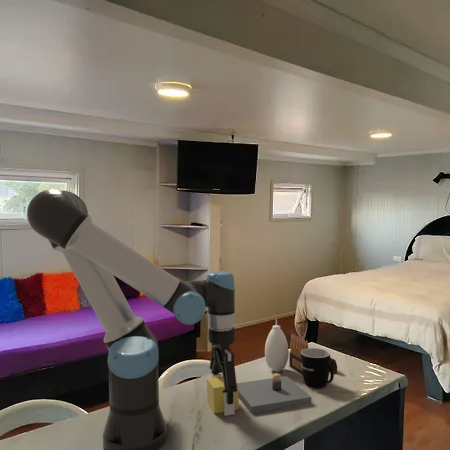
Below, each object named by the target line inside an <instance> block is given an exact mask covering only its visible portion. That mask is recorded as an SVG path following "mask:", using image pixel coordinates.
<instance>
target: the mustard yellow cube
mask: <svg viewBox="0 0 450 450" xmlns="http://www.w3.org/2000/svg"><path fill="white" fill-rule="evenodd" d="M223 390H225V387H224V381H223V375H222V377H214V378H212V377H207V379H206V394H207V395H206V399H207V400H206V403H207V404H208V406H209V408H210V410H211V411H212V413H213V414H220V413H221V414H222V413H224V393H223ZM234 410H235V411H238V410H239V397H238V384H237V392H234Z"/></svg>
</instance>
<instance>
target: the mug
mask: <svg viewBox="0 0 450 450" xmlns="http://www.w3.org/2000/svg"><path fill="white" fill-rule="evenodd" d="M330 357H331V353H330V351H329V350H327V349H323V348H319V347H308V349H304V350H302V351H301V367H302V375H301V376H302V380H303V382H304V385H305V386H306V387H308V388H310V389H316V390H317V389H323V388H325V387H326V386H327V385H328V384H330V383H332V382H333V381H334V378H335V373H334V372H333V369H332V367H331V365H330ZM329 370H330V372H329Z"/></svg>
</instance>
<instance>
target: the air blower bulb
mask: <svg viewBox="0 0 450 450" xmlns="http://www.w3.org/2000/svg"><path fill="white" fill-rule="evenodd" d="M264 345H265V346H264V357H265V362H266V363H267V366H268V367H269V368H270V369H271V370H272V371H274V372H276V373H277V372H280V371H281V372H282V371H283V369H284V368H286V365H287V364H288V362H289V353H290V352H289V345H288V340H287V337H286V335H285V333H284V332H283V330H282V329H281V325H278V320H277V317H276V318H275V325H272V327H271V330H270V332H269V333H268V335H267V338H266V340H265V344H264Z"/></svg>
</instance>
